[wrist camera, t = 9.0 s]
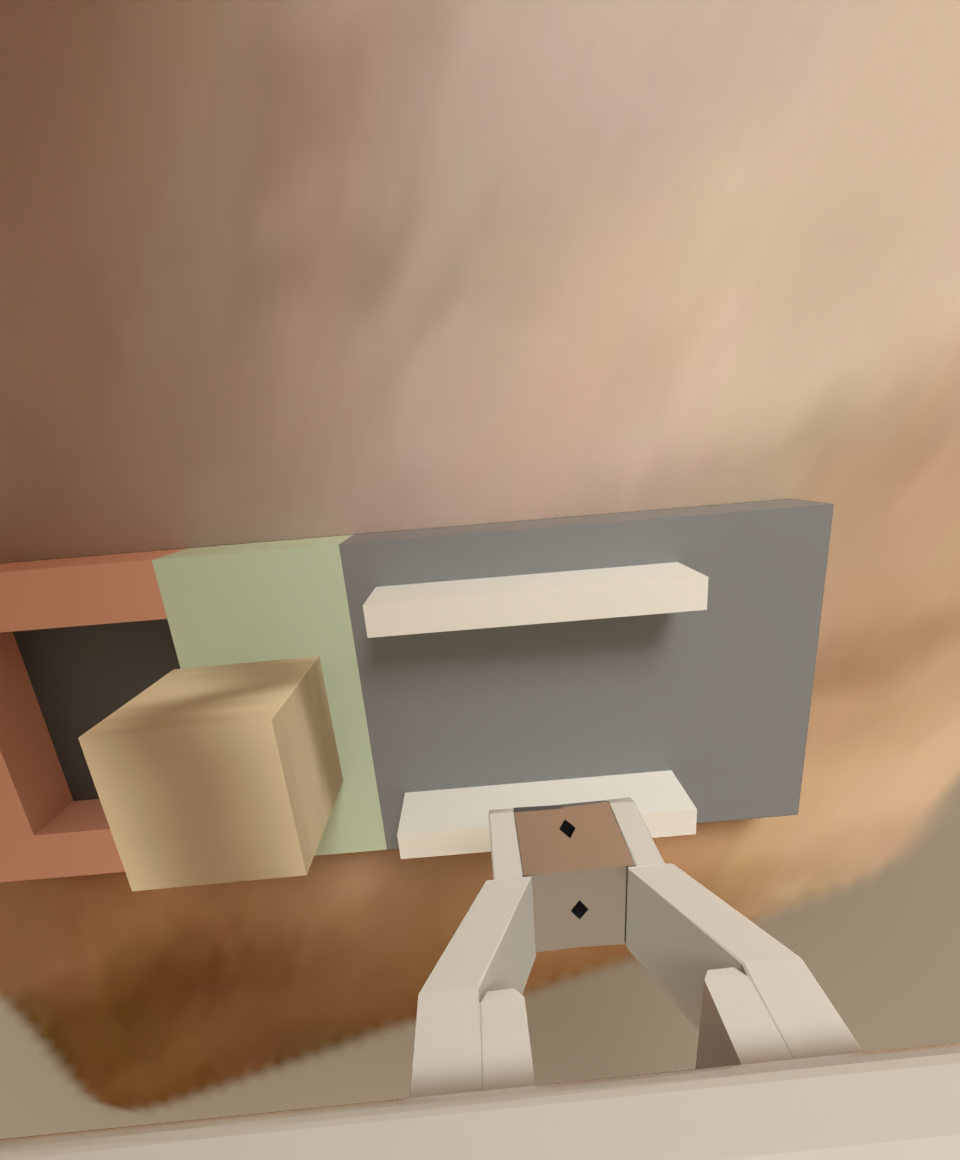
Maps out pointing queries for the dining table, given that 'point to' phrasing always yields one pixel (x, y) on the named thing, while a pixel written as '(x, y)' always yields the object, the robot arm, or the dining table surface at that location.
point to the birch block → (218, 774)
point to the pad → (282, 646)
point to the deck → (457, 670)
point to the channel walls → (523, 600)
